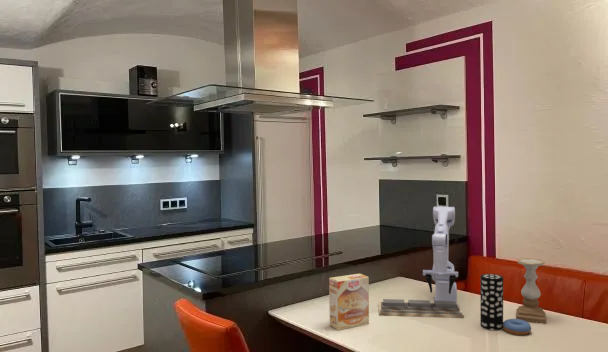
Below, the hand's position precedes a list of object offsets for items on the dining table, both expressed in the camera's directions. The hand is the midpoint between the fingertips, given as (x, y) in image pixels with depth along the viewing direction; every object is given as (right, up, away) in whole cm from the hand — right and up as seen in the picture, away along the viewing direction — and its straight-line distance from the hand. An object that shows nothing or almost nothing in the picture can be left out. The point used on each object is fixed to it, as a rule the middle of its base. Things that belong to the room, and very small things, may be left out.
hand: (440, 292), depth 206 cm
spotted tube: (+15, -10, -17) cm, 25 cm away
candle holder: (+35, -9, -8) cm, 37 cm away
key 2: (+3, -6, +2) cm, 7 cm away
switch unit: (-8, -9, +3) cm, 13 cm away
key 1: (-19, -6, +5) cm, 21 cm away
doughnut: (+23, -10, -22) cm, 33 cm away
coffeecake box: (-40, -10, -12) cm, 43 cm away
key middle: (-8, -6, +3) cm, 11 cm away
